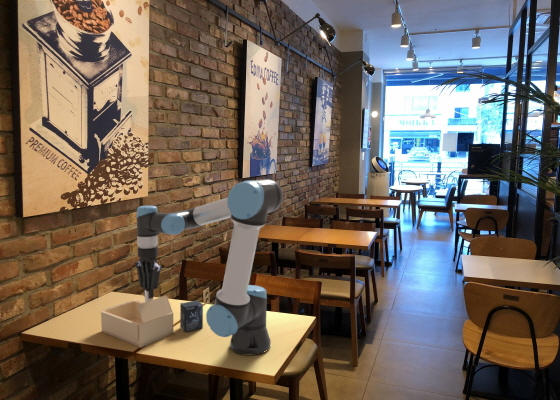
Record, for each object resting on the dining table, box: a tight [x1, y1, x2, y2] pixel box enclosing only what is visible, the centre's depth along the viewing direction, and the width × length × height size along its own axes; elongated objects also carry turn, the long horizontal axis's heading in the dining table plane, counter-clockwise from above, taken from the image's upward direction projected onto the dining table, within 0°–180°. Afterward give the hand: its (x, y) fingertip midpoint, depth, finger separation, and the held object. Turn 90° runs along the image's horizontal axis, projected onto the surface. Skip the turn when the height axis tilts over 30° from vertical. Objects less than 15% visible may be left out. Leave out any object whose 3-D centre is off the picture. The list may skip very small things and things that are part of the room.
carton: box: [100, 299, 175, 348], centre depth 177 cm, size 25×17×9 cm
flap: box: [137, 295, 173, 323], centre depth 170 cm, size 1×14×7 cm, turn 145°
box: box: [179, 299, 204, 333], centre depth 182 cm, size 8×6×11 cm
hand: (149, 305), depth 172 cm, fingers closed
